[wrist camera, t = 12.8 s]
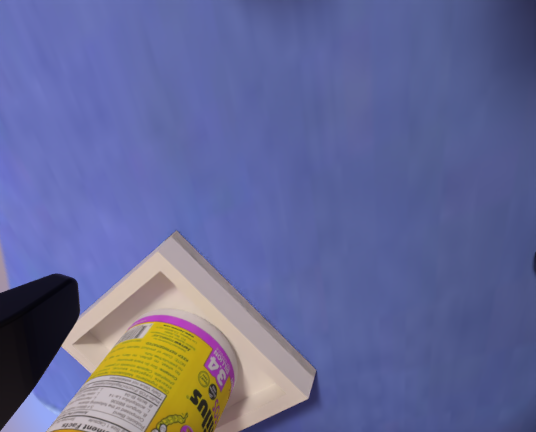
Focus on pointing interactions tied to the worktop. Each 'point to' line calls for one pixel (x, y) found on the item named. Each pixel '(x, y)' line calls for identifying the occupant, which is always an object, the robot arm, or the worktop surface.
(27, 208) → the worktop surface
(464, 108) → the worktop surface
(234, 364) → the supplement bottle
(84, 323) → the tray
